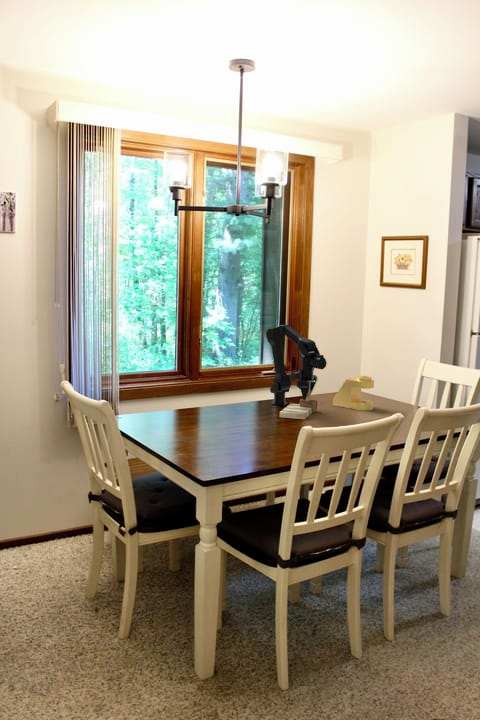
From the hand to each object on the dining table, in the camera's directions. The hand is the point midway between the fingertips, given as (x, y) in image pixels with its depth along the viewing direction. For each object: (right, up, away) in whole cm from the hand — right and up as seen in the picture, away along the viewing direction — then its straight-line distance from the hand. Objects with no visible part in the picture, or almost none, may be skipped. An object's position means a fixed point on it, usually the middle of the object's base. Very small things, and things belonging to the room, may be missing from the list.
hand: (306, 398), depth 325 cm
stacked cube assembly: (+1, -6, +1) cm, 6 cm away
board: (-5, -7, -4) cm, 9 cm away
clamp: (+25, -5, +12) cm, 29 cm away
